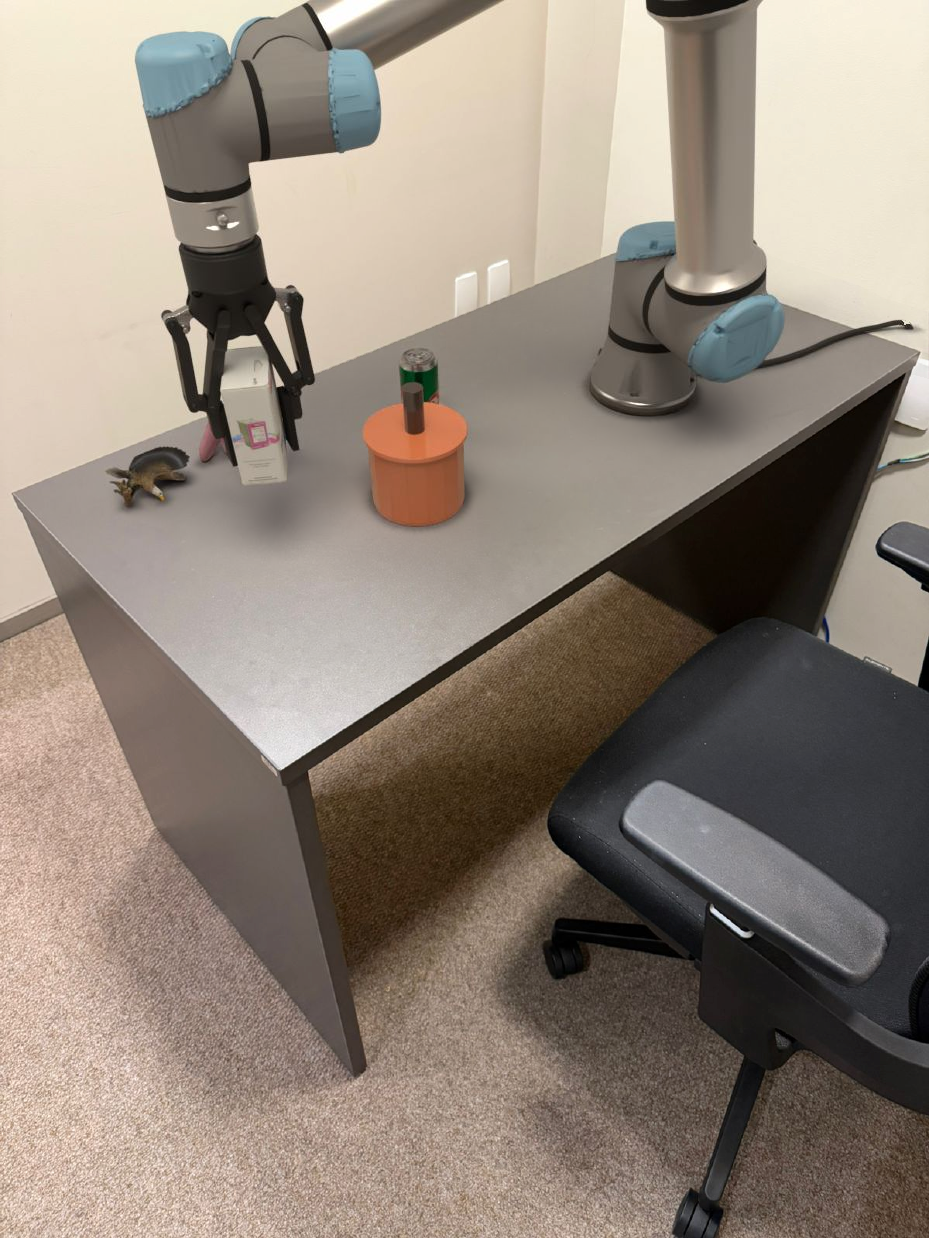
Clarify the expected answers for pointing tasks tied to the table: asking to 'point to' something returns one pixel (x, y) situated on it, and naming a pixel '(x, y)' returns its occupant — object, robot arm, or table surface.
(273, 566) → the table surface
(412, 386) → the pot lid
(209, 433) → the video game controller
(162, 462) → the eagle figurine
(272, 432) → the ink box
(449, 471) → the pot
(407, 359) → the soda can
